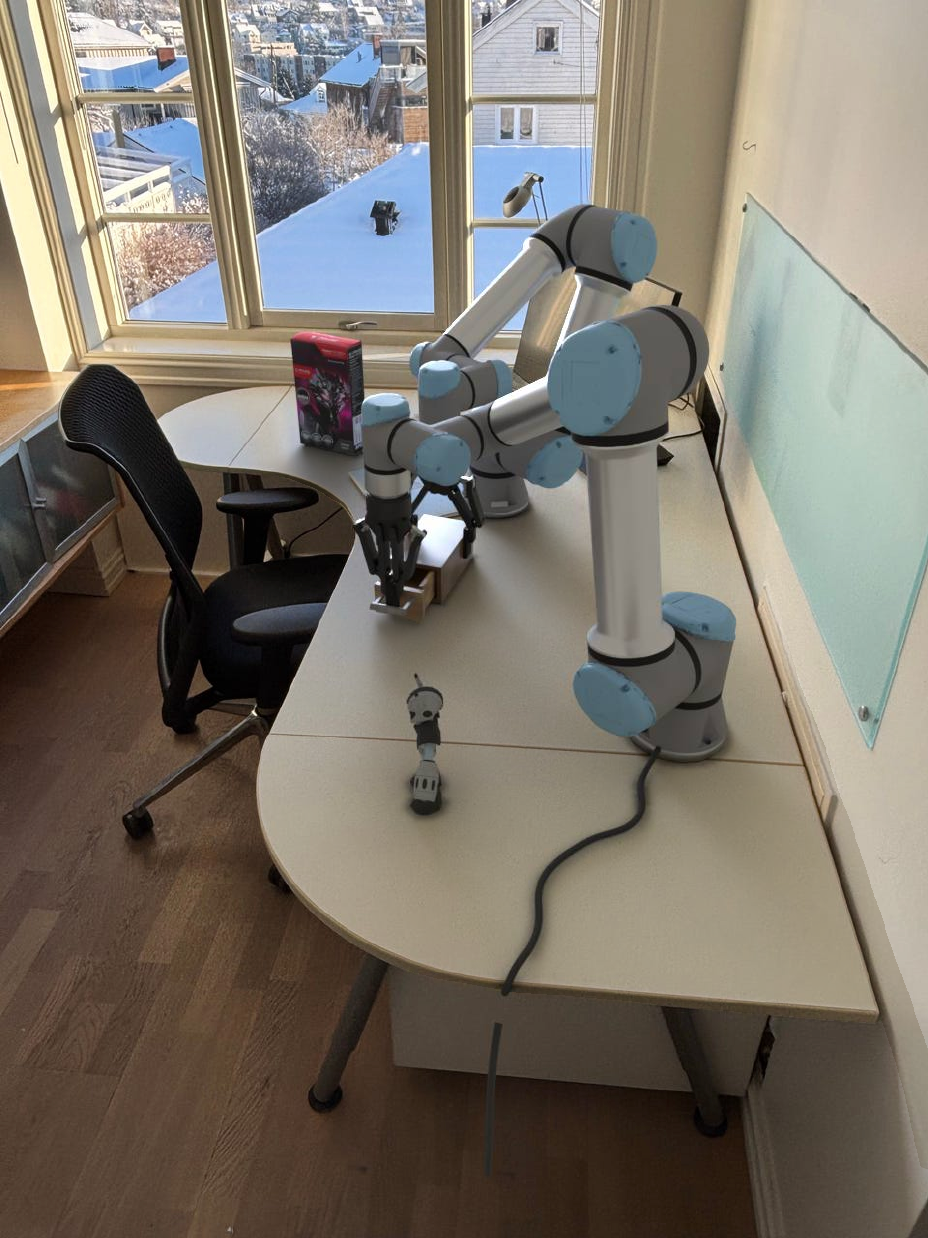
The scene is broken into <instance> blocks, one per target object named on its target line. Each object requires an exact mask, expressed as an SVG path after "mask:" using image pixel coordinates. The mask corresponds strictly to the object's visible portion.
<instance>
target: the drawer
mask: <svg viewBox="0 0 928 1238" xmlns="http://www.w3.org/2000/svg"><path fill="white" fill-rule="evenodd" d="M404 568H405V565H404ZM390 574H392V571H391V572H390ZM373 585H374V601H372V602H370V604H369V605H370V606H369V610H371V611H375V612H376V613H381V614H385V615H390V616H395V617H401V618H405V619H409V620H415V621H420V622H424V621H425V620H426V609H427V607H428V606H429V605H430V603H432V602H431V600H432V599H433V597H434V596H435V594H436V593H437V576H436V571H432V570H427V569H422V568H416V567H415V571H414V574H413V575H412V577H411V578H410V579H409V580H408V581H407V582H405V581H404V592H403V594H402V595H401V597H400V607H395V606H390V605H386V597H385V594H382V593H381V586H380V581H375V583H374V584H373Z"/></svg>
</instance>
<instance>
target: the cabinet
mask: <svg viewBox="0 0 928 1238" xmlns="http://www.w3.org/2000/svg"><path fill="white" fill-rule="evenodd" d="M415 526H416V527H417V528H418V529H420V530H423V529H424V530H426V531H427V535H426V537H425V538H424V539H423V540H422V543H421V547H420V551H419V555H418V559H417V563H416V568H422V569H427V570H432V571H436V576H437V593H436V594H435V596H434V597H433V599H432V600H431V602H430V603H435V604H440V605H441V604H443V602H444V600H445V599H446V598H447V596H448V595H449V593H450V592H451V590H452V588H453V587H454V585H455V584H456V583H457V582H458V580H459V578H460V577H461V576H462V574H463V572H464V571H465V569H466V568H467V566H468V565H469V563H470V562H471V561H472V559H473V557H474V542H473V543H471V554H470V555H469V557H468V558H467V559H463V529H464V528H465V526H466V525H465V523H464V521H463V520H462V519H461V520H460V519H454V518H448V517H442V516H437V515H432V514H426V513H424V514H423V515H422V516H421V517H420V518H419V519H418V522H417V524H416V525H415ZM410 536H411V533H410V532H409V533H408V534H407V535H406V536H405V537H404V543H403V544H404V565H405V564H406V560H407V556H408V552H409V547H410V545H411V543H412V541H411V540H410V539H411V538H410ZM390 564H391V569H392V553H390Z"/></svg>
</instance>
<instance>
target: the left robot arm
mask: <svg viewBox="0 0 928 1238" xmlns="http://www.w3.org/2000/svg"><path fill="white" fill-rule="evenodd" d="M657 255H658V239H657V236H656V230H655V228H654V225H653V224H652V222H650V220H649V219H647V217H645V216H642V215H639V214H636V213H633V212H631V211H628V210H619V209H614V208H608V207H604V206H603V207H602V206H597V205H595V204H589V203H582V204H576V205H573V206H570V207H568V208H565V209H563V210H562V211H560V212H558V213H556V214H554V215H553V216H552V217H550V218H549V219H548V220H546V221H545V222H544V223H542V224H541V225H540V226H539V227H538V228H537V229H535V230H534V231H533V232H532V234H530V235H529V236H528V237H527V238H526V239H525V241H524V243H523V250H522V251H521V252H520V253H519V254H518V255H517V256H516V257H515V259H514V260H512V261H511V263H510V264H509V265H508V266H507V267H506V268H505V269H504V270H503V271H502V272H501V273H500V274H499V275H498V276H497V277H496V278H495V279H494V280H493V281H492V282H491V283H490V285H489V286H487V287H486V289H484V290H483V292H482V293H481V294H480V295H479V296H478V297H477V298H476V299H475V300H474V301H473V302H472V303H471V304H470V305H469V306H468V307H467V308H466V309H465V310H464V312H463V313H462V314H461V315H459V317H458V318H457V319H456V320H455V321H454V322H453V323H452V324H451V325H450V326H449V327H448V328H447V329H446V330H445V332H443V334H442V335H441V336H440V337H439V338H438V339H437V340H436V341H435V342H432V341H423V342H421V343H418V344H416V345H415V347H414V348H413V349H412V350H411V353H410V356H409V361H408V365H409V370H410V372H411V374H412V375H413V377H415V378H416V379H417V389H416V390H417V397H418V398H417V400H418V414H419V421H420V422H422V423H424V424H427V425H434V424H437V423H439V422H442V421H445V420H448V419H451V418H454V417H456V416H459V415H462V414H461V413H464V412H468V411H473V410H475V409H478V408H480V407H483V406H485V405H487V404H489V403H491V402H493V401H496V400H498V399H500V398H502V397H504V396H506V395H508V394H511V393H513V388H514V376H513V373H512V370H511V368H510V366H509V365H508V363H507V362H505V361H503V360H502V359H492V360H491V359H488V360H486V361H478V360H476V357H477V356H478V355H479V354H480V352H481V351H483V350H484V349H485V347H486V346H488V344H489V343H490V342H491V341H492V340H493V339H494V338H495V337H496V336H497V335H498V334H499V333H500V332H501V330H502V329H504V327H505V326H506V325H508V323H509V322H510V321H511V320H512V319H513V318H514V317H515V316H516V315H517V314H518V313H519V311H521V309H523V308H524V306H526V304H528V302H529V301H530V300H531V299H532V298H533V296H535V295H536V294H537V293H538V292H539V291H540V289H541V288H543V286H544V285H546V283H547V282H548V281H549V280H550V279H552V280H555V279H558V278H559V277H560V276H561V275H563V273H564V272H565V271H567V270H568V269H571V268H575V269H574V272H573V277H574V279H575V282H576V286H577V287H576V290H575V293H574V296H573V297H572V298H573V299H572V301H571V303H570V307H569V310H568V314H567V316H566V318H565V321H564V325H563V327H562V330H561V333H560V336H559V339H558V341H557V345H556V347H555V350H554V353H555V352H556V350H557V349H558V348H559V346H560V345H561V343H562V342H563V341H564V340H565V339H566V338H567V337H569V336H570V335H571V334H573V333H575V332H577V331H579V330H581V329H583V328H585V327H587V326H588V325H590V324H593V323H594V322H597V321H599V322H600V321H604V320H608V319H611V318H614V317H615V316H614V315H615V313H616V310H617V308H618V305H619V303H620V301H621V300H622V299H623V298H625V297H627V296H629V295H630V294H631V293H632V292H631V291H632V289H633V286H634V284H637V283H641V282H642V281H644V280H645V279H646V278H647V277H648V276H649V275H650V274H651V272H652V271H653V268H654V266H655V263H656V259H657ZM546 376H548V372H547V374H546ZM583 456H584V452H583V451H582V450H581V449H580V448H579V447H577V446H576V445H575V444H574V443H573V442H572V439H571V431H569V430H568V429H567V428H565V427H564V426H562V427H560V428H557V429H555V430H552V431H550V432H547V433H545V434H542V435H539V436H537V437H534V438H532V439H529V440H527V441H524V442H522V443H519V444H517V445H515V446H513V447H511V448H509V449H506V450H504V451H500V452H498V453H495V454H492V455H490V456H487V457H484V458H482V459H479V460H477V461H475V462H473V463H470V466H469V468H468V471H467V472H468V473H467V475H466V476H465V475H464V476H462V477H461V478H460V480H459V482H457V483H456V484H454V485H451V486H442V485H440V484H437V483H434V482H432V481H431V482H429V481H427V480H425V479H423V478H421V477H420V476H418V475H416V474H414V473H412V472H411V488H410V490H411V491H412V490H413V486H414V482H415V481H416V479H417V478H419V480H420V481H421V483H422V484H423V486H422V488H421V489H420V491H419V492H418V494H417V495H416V496H415V498H414V499H413V501H412V512H411V515H412V518H413V520H414V525H416V524H417V522H418V521H419V514H417V513H415V512H416V511H417V509H418V508H419V506H420V504H421V503H422V502H423V500H424V499H425V497H426V496H427V495H428V493H430V494H431V495H439V496H440V495H441V496H443V497H447V498H448V499H449V501H451V502H452V504H453V506H454V508H455V510H456V511H457V512H458V514H459V517H460V518H461V520H462V521H464V523H465V525H466V526H465V528H464V529H463V559H467V558H468V557H469V555H470V554H471V543H473V544H474V542H475V541H476V539H477V529H481V528H483V526H484V525H485V523H486V521H487V519H505V518H510V517H514V516H518V515H520V514H521V513H523V512H524V511H526V510H527V508H528V507H529V499H530V498H529V491H528V488H527V484H526V482H525V480H526V481H527V482H529V483H530V484H531V485H535V486H539V487H542V488H545V489H550V490H551V489H556V488H559V487H562V486H563V485H564V484H565V483H567V482H569V481H570V480H571V479H572V478H573V477H574V476H575V474H576V473H577V471H578V470H579V468H580V466H581V464H582V460H583ZM459 484H462V489H461V488H460V487H459ZM486 518H487V519H486Z"/></svg>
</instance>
